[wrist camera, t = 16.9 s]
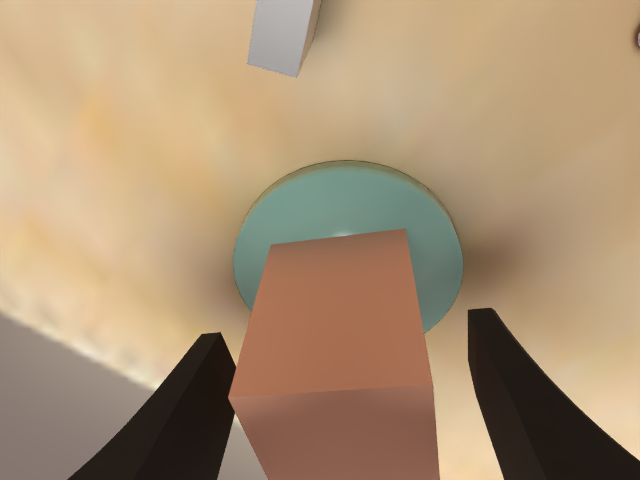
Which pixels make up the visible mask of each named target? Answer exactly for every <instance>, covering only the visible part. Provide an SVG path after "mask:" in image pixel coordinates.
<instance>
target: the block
mask: <svg viewBox="0 0 640 480" xmlns="http://www.w3.org/2000/svg"><path fill="white" fill-rule="evenodd" d="M228 399H229V401H230V403H231V405H232V407H233V409H234V411H235V413H236V415H237V417H238V419H239V421H240V423H241V425H242V427H243V429H244V431H245V433H246V435H247V437H248V439H249V441H250V443H251V446H252V447H253V449H254V452H255V453H256V456H257V458H258V460H259V462H260V464H261V466H262V468H263V470H264V472H265V474H266V476H267V478H268V480H440V475H439V461H438V448H437V434H436V420H435V407H434V393H433V382H432V377H431V371H430V365H429V360H428V354H427V348H426V343H425V337H424V331H423V326H422V320H421V314H420V309H419V303H418V297H417V292H416V286H415V280H414V274H413V269H412V263H411V257H410V252H409V246H408V240H407V235H406V229H405V228H403V229H395V230H387V231H379V232H370V233H362V234H354V235H346V236H337V237H329V238H321V239H313V240H304V241H296V242H288V243H280V244H272V245H270V249H269V252H268V256H267V260H266V263H265V267H264V270H263V274H262V278H261V281H260V285H259V288H258V292H257V296H256V299H255V303H254V306H253V310H252V314H251V317H250V321H249V324H248V328H247V331H246V335H245V339H244V342H243V346H242V349H241V353H240V357H239V360H238V364H237V367H236V371H235V375H234V378H233V382H232V385H231V389H230V393H229V396H228Z"/></svg>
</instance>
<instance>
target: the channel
mask: <svg viewBox="0 0 640 480" xmlns="http://www.w3.org/2000/svg"><path fill="white" fill-rule="evenodd" d="M321 2H322V0H257V2H256V9H255V16H254V22H253V29H252V36H251V42H250V49H249V56H248V63H247V64H249V65H253V66H256V67H260V68H263V69H267V70H271V71H274V72H278V73H281V74H285V75H288V76H292V77H296V78H297V76H298V74H299V71H300V69H301V67H302V64H303V62H304V60H305V57H306V55H307V53H308V50H309V48H310V46H311V43H312V41H313V38H314V33H315V29H316V24H317V20H318V15H319V11H320V7H321Z"/></svg>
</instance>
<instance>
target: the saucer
mask: <svg viewBox="0 0 640 480" xmlns="http://www.w3.org/2000/svg"><path fill="white" fill-rule="evenodd" d="M403 228H405V229H406V235H407V240H408V246H409V252H410V257H411V263H412V269H413V274H414V280H415V286H416V292H417V297H418V303H419V309H420V314H421V320H422V326H423V331H424V333H425V332H427V331H428V330H430V329H431V328H432V327H433V326H434V325H436V324H437V323H438V322H439V321H440V320H441V319H442V317H443V316H444V315H445V314H446V313H447V312H448V310H449V309H450V307H451V306H452V304H453V303H454V301H455V299H456V296H457V294H458V292H459V289H460V286H461V282H462V276H463V256H462V251H461V246H460V243H459V240H458V237H457V234H456V231H455V228H454V226H453V223H452V221H451V218H450V216H449V215H448V213H447V211H446V210H445V208H444V206H443V205H442V204H441V202H440V201H439V200H438V199H437V198H436V196H435V195H434V194H433V193H432V192H430V191H429V190H428V189H427V188H426V187H425V186H424V185H422V184H421V183H419V182H418V181H416V180H415V179H413V178H412V177H410V176H408V175H406V174H404V173H402V172H400V171H398V170H395V169H392V168H389V167H386V166H383V165H379V164H374V163H369V162H361V161H332V162H326V163H320V164H315V165H312V166H308V167H305V168H302V169H300V170H297V171H295V172H293V173H291V174H288V175H287V176H285V177H283V178H282V179H280V180H278V181H277V182H275V183H274V184H273V185H272V186H270V187H269V188H268V189H267V190H266V191H264V192H263V194H262V195H261V196H260V197H259V198H258V199H257V200H256V201H255V203H254V204H253V206H252V207H251V209H250V210H249V212H248V214H247V216H246V219H245V221H244V223H243V226H242V228H241V231H240V233H239V236H238V238H237V242H236V245H235V249H234V257H233V269H234V277H235V281H236V285H237V287H238V290H239V292H240V295H241V297H242V299H243V300H244V302H245V304H246V305H247V307H248V308H249V309H250V311H251V312H252V310H253V306H254V303H255V299H256V296H257V292H258V288H259V285H260V281H261V278H262V274H263V270H264V267H265V263H266V260H267V256H268V252H269V249H270V245H272V244H280V243H288V242H296V241H304V240H313V239H321V238H329V237H337V236H346V235H354V234H362V233H370V232H379V231H387V230H395V229H403Z"/></svg>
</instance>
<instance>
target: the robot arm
mask: <svg viewBox="0 0 640 480" xmlns="http://www.w3.org/2000/svg"><path fill="white" fill-rule="evenodd" d="M638 44H639V46H640V33H639V35H638ZM468 362H469V366H470V371H471V376H472V380H473V385H474V389H475V393H476V397H477V400H478V403H479V406H480V409H481V412H482V415H483V418H484V421H485V424H486V427H487V430H488V433H489V436H490V439H491V442H492V445H493V448H494V450H495V453H496V456H497V459H498V462H499V465H500V468H501V471H502V474H503V477H504V480H640V461H639V460H638V459H637V458H635V457H634V456H633V455H632V454H630V453H629V452H628V451H627V450H625V449H624V448H623V447H622V446H621V445H620V444H618V443H617V442H616V441H615V440H614V439H613V438H611V437H610V436H609V435H608V434H607V433H606V432H604V431H603V430H602V429H601V428H600V427H599V426H598V425H597V424H596V423H594V422H593V421H592V420H591V419H590V418H589V417H588V416H587V415H586V414H585V413H584V412H583V411H582V410H580V409H579V408H578V407H577V406H576V405H575V404H574V403H573V402H572V401H571V400H570V399H569V398H568V397H567V396H566V395H565V394H564V393H563V392H562V391H561V390H560V389H559V388H558V387H557V385H556V384H555V383H554V382H553V381H552V380H551V379H550V378H549V377H548V376H547V375H546V374H545V373H544V371H543V370H542V369H541V368H540V367H539V366H538V365H537V364H536V362H535V361H534V360H533V359H532V358H531V357H530V356H529V354H528V353H527V352H526V351H525V350H524V348H523V347H522V346H521V345H520V344H519V342H518V341H517V340H516V339H515V337H514V336H513V335H512V333H511V332H510V331H509V330H508V328H507V327H506V326H505V324H504V323H503V321H502V320H501V319H500V317H499V316H498V314H497V313H496V311H495V310H493V309H492V308H483V309H472V310H468ZM235 371H236V365H235V363H234V361H233V359H232V357H231V354H230V352H229V350H228V348H227V345H226V343H225V341H224V339H223V337H222V334H221V332H219V333H208V334H201V336H200V337H199V338H198V339H197V340H196V342H195V343H194V344H193V345H192V347H191V348H190V349H189V350H188V352H187V353H186V354H185V355H184V357H183V358H182V359H181V360H180V362H179V363H178V364H177V365H176V367H175V368H174V369H173V370H172V372H171V373H170V374H169V375H168V377H167V378H166V379H165V380H164V381H163V383H162V384H161V385H160V386H159V388H158V389H157V390H156V391H155V392H154V394H153V395H152V396H151V397H150V398H149V399H148V400H147V402H146V403H145V404H144V405H143V406H142V407H141V408H140V409H139V410H138V412H137V413H136V414H135V415H134V416H133V417H132V418H131V420H130V421H129V422H128V423H127V424H126V425H125V426H124V427H123V428H122V429H121V430H120V431H119V432H118V433H117V434H116V435H115V436H114V438H112V439H111V440H110V441H109V442H108V443H107V444H106V445H105V446H104V447H103V448H102V449H101V450H100V451H99V452H98V453H97V454H96V455H95V456H94V457H93V458H91V459H90V460H89V461H88V462H87V463H86V464H85V465H84V466H82V467H81V468H80V469H79V470H78V471H77V472H75V473H74V474H73V475H72V476H71V477H70V478H69V479H68V480H217V478H218V474H219V470H220V467H221V463H222V459H223V455H224V452H225V448H226V445H227V441H228V437H229V434H230V430H231V426H232V422H233V419H234V415H235V411H234V409H233V407H232V405H231V403H230V401H229V399H228V396H229V393H230V389H231V385H232V382H233V378H234V375H235Z"/></svg>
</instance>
